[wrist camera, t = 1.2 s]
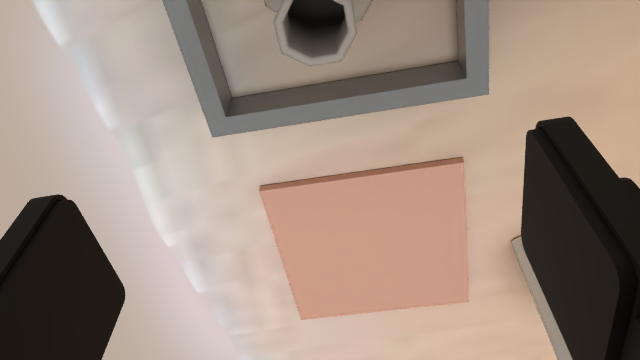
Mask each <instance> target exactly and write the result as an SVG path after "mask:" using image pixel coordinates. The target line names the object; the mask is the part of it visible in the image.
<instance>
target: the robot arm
mask: <svg viewBox="0 0 640 360" xmlns="http://www.w3.org/2000/svg"><path fill="white" fill-rule="evenodd" d="M521 239H522V245H523V248H524V251H525V254H526V256H527V258H528V260H529V263H530V265H531V267H532V269H533V272H534V274H535V276H536V278H537V281H538V283H539V285H540V287H541V290H542V292H543V294H544V296H545V299H546V301H547V303H548V305H549V308H550V310H551V312H552V314H553V317H554V319H555V321H556V323H557V325H558V328H559V330H560V332H561V334H562V337H563V339H564V341H565V343H566V346H567V348H568V350H569V352H570V355H571V357H572V359H573V360H640V189H639V187H638V186H637V185H636V184H635V183H634V182H633V181H632V180H631V179H628V178H619V177H618V176H617V174H616V173H615V172H614V171H613V169H612V168H611V167H610V166H609V164H608V163H607V162H606V160H605V159H604V158H603V157H602V155H601V154H600V153H599V151H598V150H597V149H596V148H595V146H594V145H593V144H592V142H591V141H590V140H589V139H588V137H587V136H586V135H585V134H584V132H583V131H582V130H581V128H580V127H579V126H578V125H577V123H576V122H575V121H574V119H572V118H571V117H563V118H556V119H550V120H543V121H539V122H538V123H537V125H536V129H534V130H529V131H528V132H527V135H526V150H525V169H524V188H523V207H522V225H521ZM124 300H125V289H124V286H123V284H122V282H121V281H120V279H119V277H118V275H117V274H116V272H115V270H114V269H113V267H112V265H111V263H110V262H109V260H108V258H107V257H106V255H105V253H104V252H103V250H102V248H101V246H100V245H99V243H98V241H97V240H96V238H95V236H94V234H93V233H92V231H91V230H90V228H89V226H88V224H87V223H86V221H85V219H84V217H83V216H82V214H81V212H80V211H79V209H78V207H77V206H76V204H75V203H74V202H73V201H72V200H67V199H66V198H65V197H64V196H63V195H52V196H45V197H39V198H34V199H31V200H30V201H29V202H28V203H27V204H26V206H25V207H24V209H23V210H22V211H21V212H20V214H19V216H18V217H17V218H16V219H15V221H14V222H13V223H12V225H11V226H10V228H9V229H8V230H7V232H6V233H5V235H4V236H3V237H2V238H1V240H0V360H101V359H102V357H103V354H104V352H105V349H106V347H107V344H108V342H109V339H110V337H111V334H112V332H113V329H114V327H115V324H116V321H117V319H118V316H119V314H120V311H121V309H122V306H123V304H124Z"/></svg>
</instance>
